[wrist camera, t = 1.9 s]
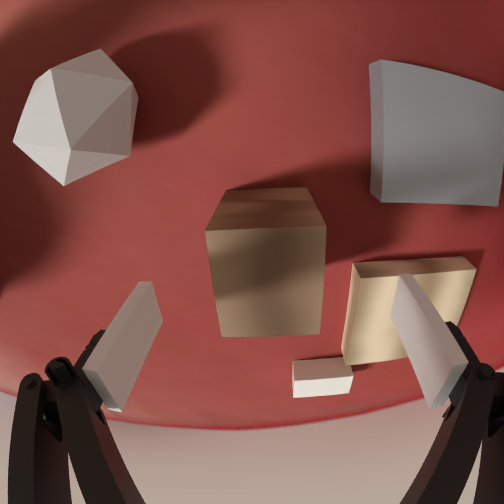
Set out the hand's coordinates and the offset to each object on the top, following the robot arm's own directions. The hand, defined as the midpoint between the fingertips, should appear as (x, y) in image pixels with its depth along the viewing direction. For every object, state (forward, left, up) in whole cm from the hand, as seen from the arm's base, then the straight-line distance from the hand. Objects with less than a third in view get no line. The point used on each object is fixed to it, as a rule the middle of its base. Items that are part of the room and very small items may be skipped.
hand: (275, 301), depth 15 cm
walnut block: (0, 0, -9) cm, 9 cm away
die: (-12, +11, -9) cm, 19 cm away
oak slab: (+13, -8, -10) cm, 18 cm away
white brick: (+5, -16, -9) cm, 19 cm away
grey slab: (+14, +8, -10) cm, 18 cm away
